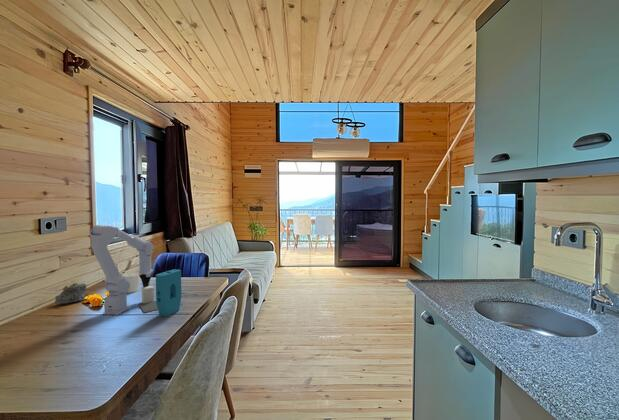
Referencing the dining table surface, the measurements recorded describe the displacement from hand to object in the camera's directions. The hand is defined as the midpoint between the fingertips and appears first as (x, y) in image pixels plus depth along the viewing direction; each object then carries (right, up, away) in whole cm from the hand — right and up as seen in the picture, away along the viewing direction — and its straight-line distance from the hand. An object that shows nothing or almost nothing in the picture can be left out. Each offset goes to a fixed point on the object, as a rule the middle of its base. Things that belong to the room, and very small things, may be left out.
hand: (145, 287), depth 162 cm
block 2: (+22, -8, -18) cm, 29 cm away
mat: (+9, -7, -10) cm, 15 cm away
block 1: (+3, -3, -3) cm, 5 cm away
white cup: (-17, -7, +16) cm, 24 cm away
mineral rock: (-38, -7, -3) cm, 39 cm away
